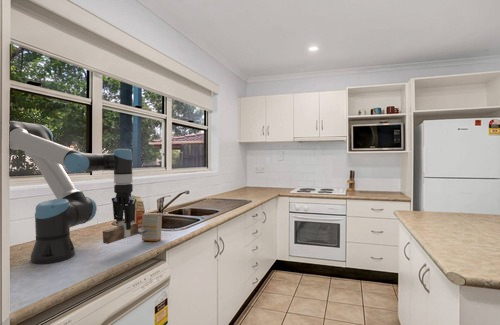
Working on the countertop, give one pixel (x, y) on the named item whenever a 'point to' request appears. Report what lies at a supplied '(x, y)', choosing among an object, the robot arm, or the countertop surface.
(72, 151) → the robot arm
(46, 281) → the countertop surface
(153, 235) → the supplement box
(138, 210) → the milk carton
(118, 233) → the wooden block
